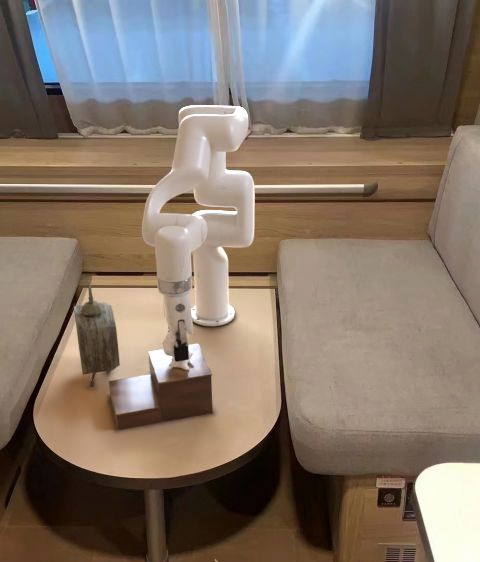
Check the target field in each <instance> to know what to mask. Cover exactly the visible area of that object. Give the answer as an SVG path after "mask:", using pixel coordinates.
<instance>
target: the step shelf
mask: <svg viewBox="0 0 480 562" xmlns="http://www.w3.org/2000/svg"><path fill="white" fill-rule="evenodd" d="M188 349H189V352H192V353H193V355H192V356H191V358H190V361H189V362H188V363H187V365H188V367H189V370H185V369H182V368H179V367H170V366H169V364H170V363H172V362H173V361H172V359H171V358H172V356H168V355H166V354H165V352H164V350H163V348H161V349H160V348H159V349H154V350H148V351H147V354H148V361H149V362H148V363H149V374H143V375H137V376H130V377H125V378H118V379H113V380H108V388H109V389H108V390H109V398H110V400H111V406H112V410H113V414H114V419H115V424H116V429H117V431H120V430H126V429H131V428H136V427H142V426H147V425H149V426H150V425H154V424H160V423H164V422H171V421H175V420H182V419H187V418H193V417H198V416H205V415H209V414H213V413H214V412H213V411H214V408H213V407H214V406H213V382H212V381H213V379H212V376H213V373H212V370H211V369H210V366H209V364H208V362H207V359H206V357H205V355H204V353H203V351H202V349H201V345H200V344H199V343H191V344H188Z"/></svg>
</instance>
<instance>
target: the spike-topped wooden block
mask: <svg viewBox="0 0 480 562" xmlns="http://www.w3.org/2000/svg"><path fill="white" fill-rule="evenodd" d="M87 289H88V301H86V302H85V303H84V304H79V305H73V310H74V321H75V328H76V336H77V344H78V350H79V351H78V352H79V358H80V365H81V372H82V376H84V375H90V374H91V380H90V381H88V383H87V385H88V387H89V388H94V387H95V385H96V383H95V381H94V380H95V377H96V376H97V374H99V373H105V372H106V373H107V374H109V373H110V374H111V372H113V371H114V370H116V369H117V368H118V367H119V366H120V365H121V361H120V351H119V341H118V340H119V339H118V333H117V331H118V330H117V324H116V319H115V315H114V311H113V307H112V305H111V304H109V303H106V302H99V301H97V300H94V296H93V290H92V285H91V283H89V282H87Z"/></svg>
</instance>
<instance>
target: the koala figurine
mask: <svg viewBox="0 0 480 562" xmlns="http://www.w3.org/2000/svg"><path fill="white" fill-rule="evenodd" d="M168 331H169V330H168ZM168 331H167V333H166V335H165V337H164V339H163V342H162V345H163V346H162V349H163V350H164V352H165V354H166V355H168V356H172V358H171V359H172V361H173V362H172V363H170V364H169V366H170V367H179V368H182V369H185V370H189V367H188V365H187V363H188V362H189V361H190V358H191V356H192V355H193V353H192V352H189V359H188V360H184V361H178V362H176V361H175V359H174V346H175V340H174V336H173V335H172V334H171V332H170V331H169V332H168ZM186 332H187V330H186ZM176 333H179V330H177V332H176ZM187 334H189V333H188V332H187ZM177 340H180V336H177Z"/></svg>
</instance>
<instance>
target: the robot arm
mask: <svg viewBox="0 0 480 562" xmlns="http://www.w3.org/2000/svg"><path fill="white" fill-rule="evenodd" d="M177 117H178V118H177V120H178V130H177V134H176V142H175V148H174V153H173V159H172V164H171V170H170V171H169V172H168V173H167V174H166V175H165V176H163V178H161V179H160V180H159V181H158V182H157V183H156V184H155V186H154V187H153V188H152V189H151V191H150V192H149V194H148V196H147V199H146V201H145V206H144V211H143V216H142V223H141V237H142V240H143V241H144V243H145V244H146V245H148V246H150V247H154V250H155V251H154V252H155V267H156V281H157V291H158V292H159V293H160V294H161V295H162V303H163V304H162V305H163V314H164V319H165V322H166V325H167V329H168V330H167V333H168V332H169V331H170V332H171V334H172V335H173V336H174V340H175V346H174V359H175V361H176V362H178V361H184V360H188V359H189V349H188V345H189V341H188V334H189V335H192V334H193V333H194V324H193V323H195V324H198V325H200V326H204V327H219V326H223V325H226V324H229V323H230V322H231V321H233V320H234V318H235V309H234V307H232V306H231V305H230V293H229V291H230V286H229V285H230V284H229V283H230V281H229V259H228V255H227V253H226V252H225V250H224V248H238V249H239V248H240V249H242V248H249V247H250V246H251V245H252V244H253V241H254V237H255V206H256V205H255V204H256V203H255V199H256V197H255V194H256V192H255V182H254V178H253V176H252V175H251V174H250V173H249V172H247V171H244V170H229V169H227V153H233V152H236V151H237V150H238V149H239V148H240V147H241V145H242V144H243V142H244V140H245V139H246V136H247V134H248V131H249V121H250V120H249V115H248V112H247V111H246V109H245V108H244V107H241V106H234V105H233V106H232V105H205V104H204V105H201V104H199V105H188V106H184V107H182V108H181V109H180V110H179V112H178V116H177ZM192 190H193V196H194V200H195V202H196V203H197V204H198V205H200V206H204V207H215V208H217V207H218V208H233V209H235V211H233V210H231V211H229V210H215V209H213V210H212V209H204V210H203V209H202V210H198V211H195V212H194V213H192V214H188V213H169V212H161V210H162V208H163V206H164V205H165V204H166V203H167V202H169V201H170V200H171V199H173V198H175V197H177V196H180V195H182V194H184V193H186V192H189V191H192ZM192 261H193V262H192ZM192 264H193V272H192ZM193 286H194V288H193ZM193 289H194V290H193ZM192 290H193V291H194V306H193V307H192V303H191V302H192V301H191V296H190V292H191V291H192ZM177 330H179V333H176V332H177ZM186 330H187V332H188V333H187V332H186ZM177 336H180V340H177Z"/></svg>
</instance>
